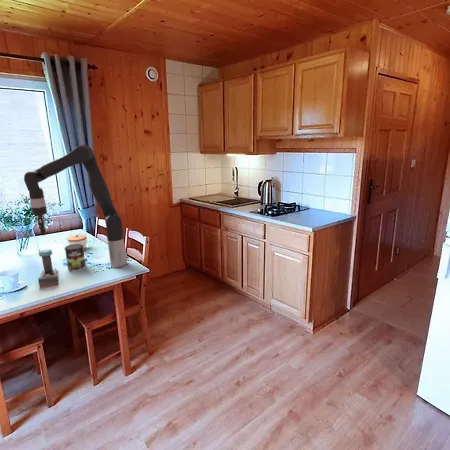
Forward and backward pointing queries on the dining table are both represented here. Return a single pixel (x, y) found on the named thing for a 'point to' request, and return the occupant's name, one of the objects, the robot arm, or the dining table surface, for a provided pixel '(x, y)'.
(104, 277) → the dining table surface
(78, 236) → the lidded bowl
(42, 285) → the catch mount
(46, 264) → the knob
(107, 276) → the dining table surface
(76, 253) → the coffee can
